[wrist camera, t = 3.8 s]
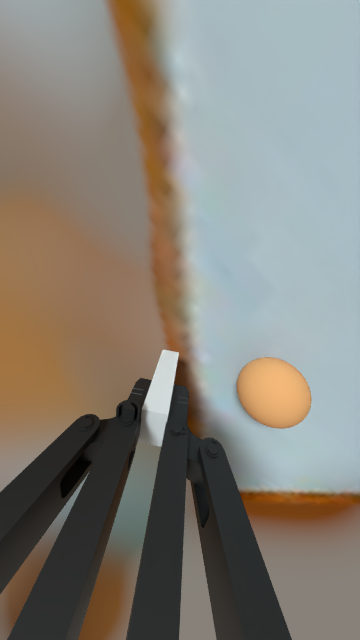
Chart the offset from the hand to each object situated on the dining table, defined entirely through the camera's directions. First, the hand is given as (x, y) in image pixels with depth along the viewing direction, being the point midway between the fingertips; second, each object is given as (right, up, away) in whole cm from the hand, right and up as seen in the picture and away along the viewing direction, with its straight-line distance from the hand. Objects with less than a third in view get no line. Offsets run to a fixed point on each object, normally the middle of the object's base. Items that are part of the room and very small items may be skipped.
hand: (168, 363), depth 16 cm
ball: (+9, -2, -1) cm, 9 cm away
